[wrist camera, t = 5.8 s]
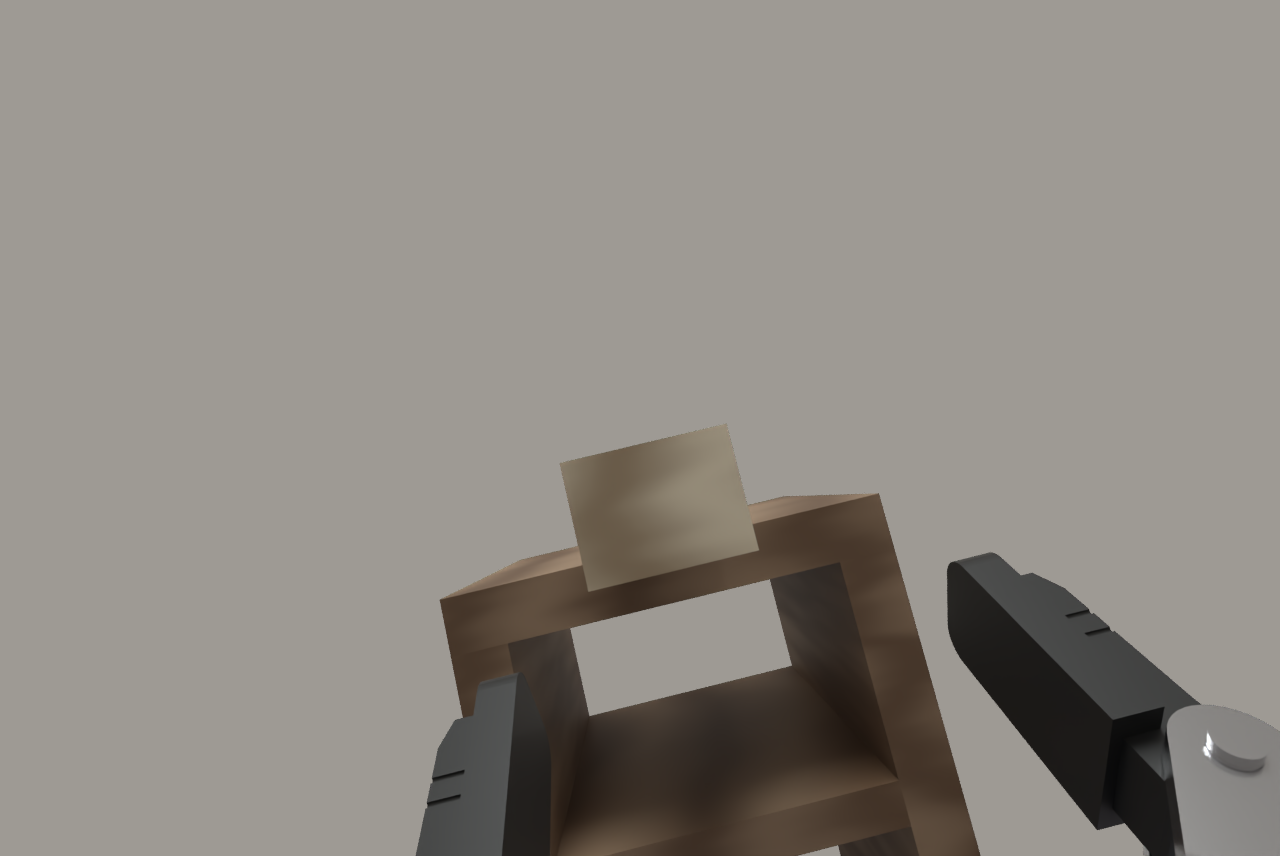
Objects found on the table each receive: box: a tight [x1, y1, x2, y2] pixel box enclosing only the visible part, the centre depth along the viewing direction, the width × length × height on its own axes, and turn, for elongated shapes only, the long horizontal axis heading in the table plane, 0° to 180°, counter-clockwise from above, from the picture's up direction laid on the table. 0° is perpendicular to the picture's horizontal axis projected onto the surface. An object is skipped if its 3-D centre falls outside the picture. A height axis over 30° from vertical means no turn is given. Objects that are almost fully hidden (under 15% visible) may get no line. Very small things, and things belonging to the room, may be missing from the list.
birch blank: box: [560, 424, 759, 592], centre depth 24 cm, size 4×20×3 cm, turn 1°
